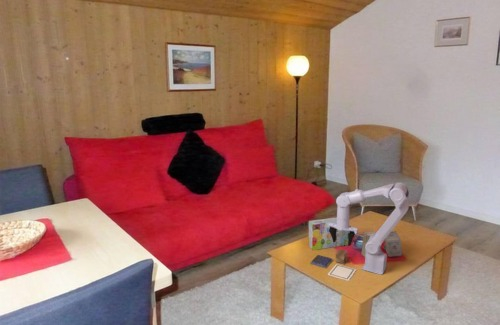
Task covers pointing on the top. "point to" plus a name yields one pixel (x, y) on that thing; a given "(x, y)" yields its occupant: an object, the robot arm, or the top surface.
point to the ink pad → (321, 261)
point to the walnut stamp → (341, 256)
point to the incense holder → (393, 244)
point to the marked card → (342, 272)
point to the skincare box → (366, 240)
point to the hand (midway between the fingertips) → (341, 243)
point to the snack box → (325, 235)
